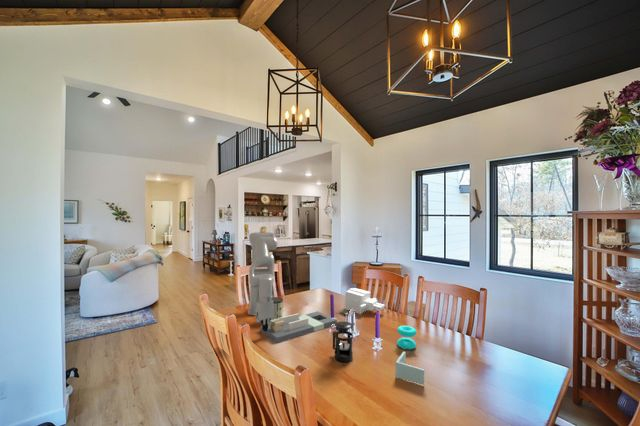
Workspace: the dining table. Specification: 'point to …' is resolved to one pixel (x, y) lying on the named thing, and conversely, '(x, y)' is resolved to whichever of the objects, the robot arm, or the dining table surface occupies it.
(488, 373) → the dining table surface
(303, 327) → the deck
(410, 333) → the donuts
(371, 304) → the blocky voxel creature
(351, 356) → the french press
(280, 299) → the coffee can
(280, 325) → the birch block
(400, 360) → the l-shaped corner panel
